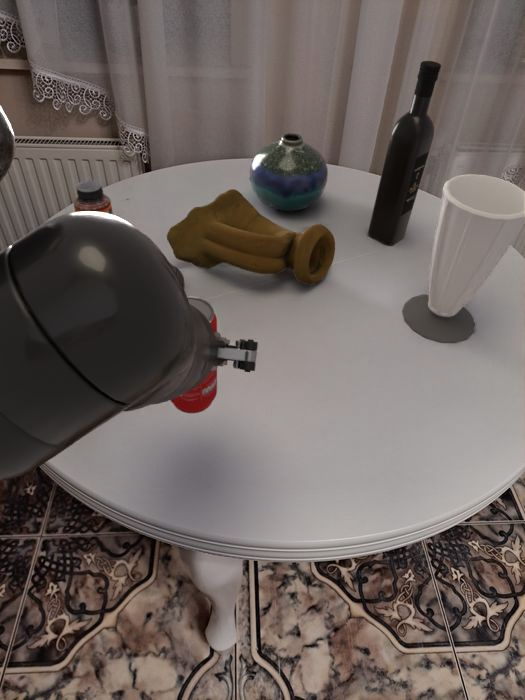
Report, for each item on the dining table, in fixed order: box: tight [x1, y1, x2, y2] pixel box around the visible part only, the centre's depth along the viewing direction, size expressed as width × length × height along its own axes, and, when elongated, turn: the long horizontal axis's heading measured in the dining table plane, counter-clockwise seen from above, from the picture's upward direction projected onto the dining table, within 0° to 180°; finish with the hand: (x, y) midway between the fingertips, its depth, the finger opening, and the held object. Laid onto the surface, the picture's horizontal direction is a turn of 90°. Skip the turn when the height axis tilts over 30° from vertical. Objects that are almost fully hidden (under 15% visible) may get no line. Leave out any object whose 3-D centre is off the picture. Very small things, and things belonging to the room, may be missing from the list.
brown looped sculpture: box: [166, 188, 336, 285], centre depth 84 cm, size 18×13×22 cm
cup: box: [402, 173, 525, 344], centre depth 74 cm, size 12×12×22 cm
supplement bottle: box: [73, 179, 114, 215], centre depth 86 cm, size 6×6×11 cm
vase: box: [249, 132, 329, 212], centre depth 100 cm, size 15×15×13 cm
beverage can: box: [169, 296, 218, 414], centre depth 50 cm, size 5×5×12 cm
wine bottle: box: [367, 60, 442, 246], centre depth 87 cm, size 6×6×30 cm
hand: (193, 348), depth 52 cm, fingers closed on beverage can, 5 cm apart
